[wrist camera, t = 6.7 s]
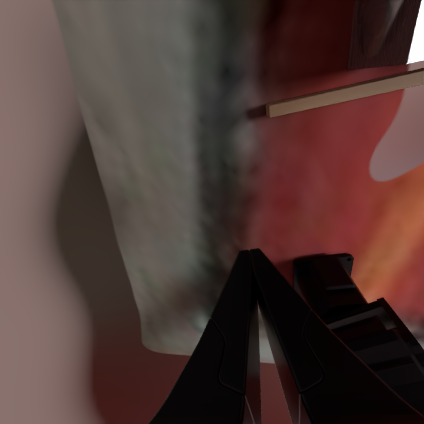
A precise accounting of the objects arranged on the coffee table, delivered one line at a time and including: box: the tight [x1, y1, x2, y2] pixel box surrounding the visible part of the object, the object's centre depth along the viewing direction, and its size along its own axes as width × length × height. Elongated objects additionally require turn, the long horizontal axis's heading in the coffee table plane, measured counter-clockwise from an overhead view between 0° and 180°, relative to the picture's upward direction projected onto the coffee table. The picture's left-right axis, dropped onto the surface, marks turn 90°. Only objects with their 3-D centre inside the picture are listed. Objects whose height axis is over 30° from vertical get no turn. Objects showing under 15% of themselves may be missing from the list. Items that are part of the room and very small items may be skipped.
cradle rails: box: [266, 68, 424, 118], centre depth 13 cm, size 9×15×2 cm, turn 102°
